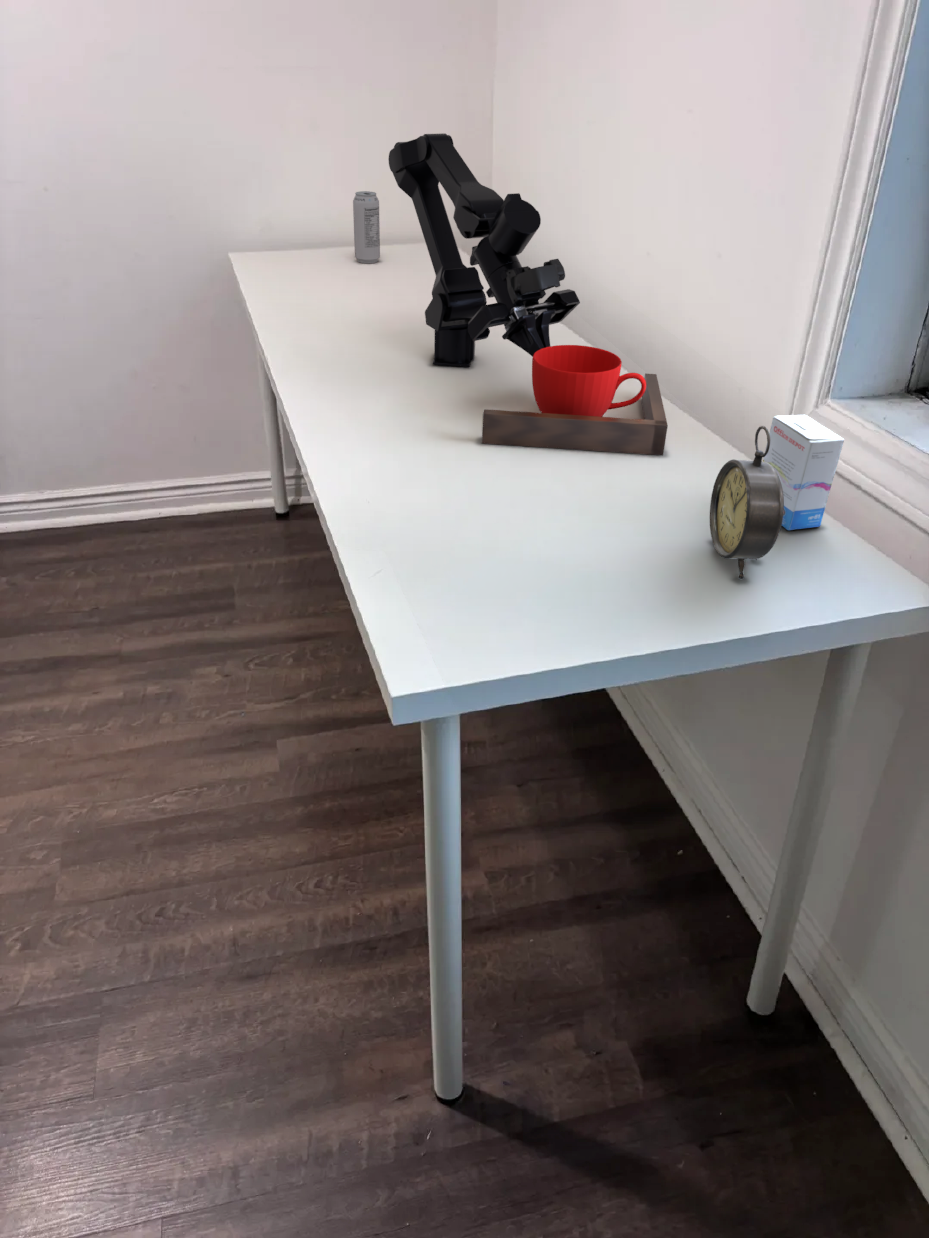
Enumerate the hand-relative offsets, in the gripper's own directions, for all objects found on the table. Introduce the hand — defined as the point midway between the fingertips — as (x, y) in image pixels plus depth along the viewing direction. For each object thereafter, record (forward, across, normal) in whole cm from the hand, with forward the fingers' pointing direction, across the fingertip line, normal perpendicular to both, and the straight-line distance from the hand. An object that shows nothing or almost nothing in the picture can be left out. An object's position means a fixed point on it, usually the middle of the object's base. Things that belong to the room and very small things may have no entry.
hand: (548, 363), depth 144 cm
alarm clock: (+39, -14, -28) cm, 51 cm away
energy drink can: (-63, +32, +73) cm, 101 cm away
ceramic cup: (+11, 0, 0) cm, 11 cm away
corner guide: (+9, 0, +1) cm, 9 cm away
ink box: (+37, 0, -26) cm, 45 cm away
